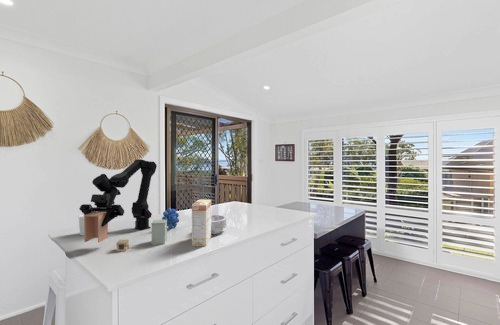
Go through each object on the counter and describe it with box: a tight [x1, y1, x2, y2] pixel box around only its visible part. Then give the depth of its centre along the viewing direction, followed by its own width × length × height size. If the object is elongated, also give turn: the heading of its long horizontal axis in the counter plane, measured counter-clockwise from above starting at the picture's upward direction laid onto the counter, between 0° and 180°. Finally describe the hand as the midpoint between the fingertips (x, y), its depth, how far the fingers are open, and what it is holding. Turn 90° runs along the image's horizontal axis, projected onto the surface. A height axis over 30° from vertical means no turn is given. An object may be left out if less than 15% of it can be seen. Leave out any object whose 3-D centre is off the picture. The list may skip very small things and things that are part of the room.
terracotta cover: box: [83, 212, 109, 243], centre depth 119 cm, size 7×7×12 cm
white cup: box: [78, 214, 84, 236], centre depth 141 cm, size 8×8×10 cm
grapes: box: [161, 207, 180, 229], centre depth 152 cm, size 12×7×12 cm, turn 145°
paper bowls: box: [211, 214, 227, 235], centre depth 146 cm, size 15×15×8 cm
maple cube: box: [115, 238, 130, 252], centre depth 118 cm, size 4×4×4 cm
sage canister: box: [150, 219, 168, 245], centre depth 128 cm, size 6×6×10 cm
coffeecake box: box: [191, 198, 212, 247], centre depth 130 cm, size 15×7×20 cm, turn 178°
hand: (94, 226), depth 117 cm, fingers closed on terracotta cover, 7 cm apart
